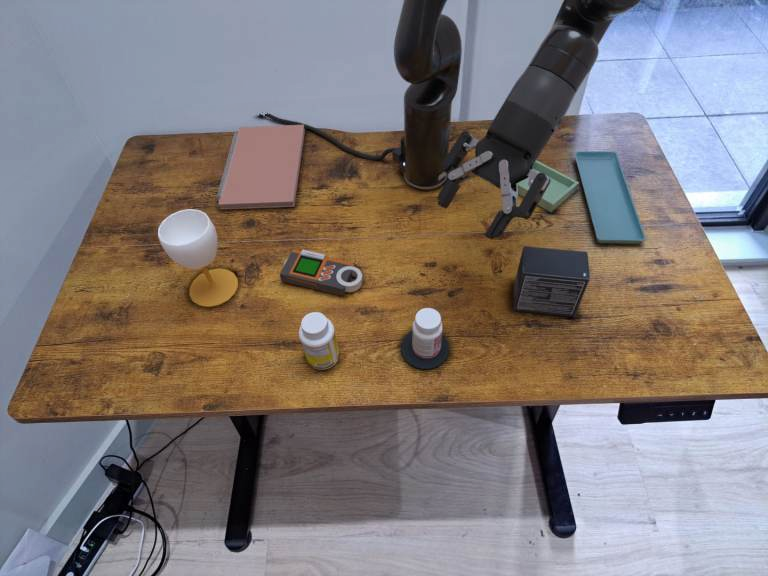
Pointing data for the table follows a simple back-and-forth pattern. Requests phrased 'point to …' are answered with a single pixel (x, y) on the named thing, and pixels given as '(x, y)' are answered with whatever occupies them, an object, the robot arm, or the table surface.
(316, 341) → the supplement bottle
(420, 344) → the pill bottle
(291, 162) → the notebook
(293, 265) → the electronic device
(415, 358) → the coaster
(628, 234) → the shallow long dish
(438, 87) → the robot arm
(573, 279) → the small box
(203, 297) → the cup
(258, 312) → the table surface
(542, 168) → the tray
